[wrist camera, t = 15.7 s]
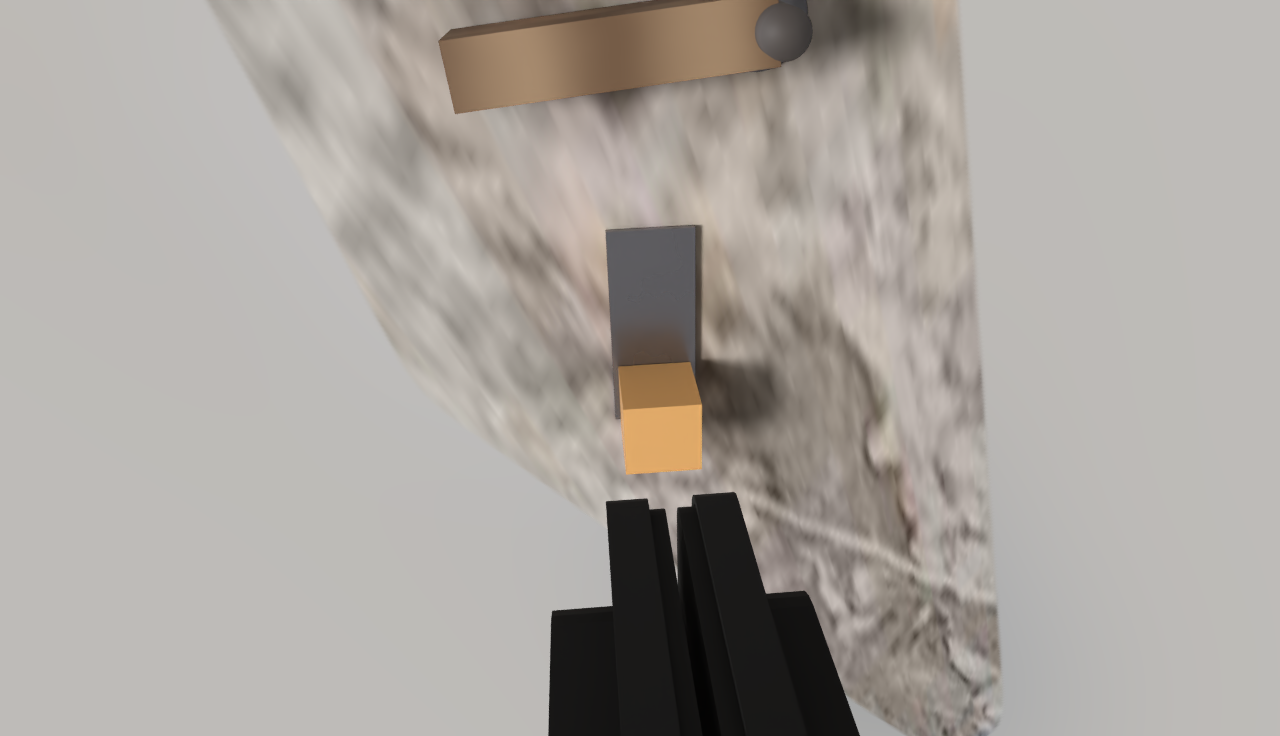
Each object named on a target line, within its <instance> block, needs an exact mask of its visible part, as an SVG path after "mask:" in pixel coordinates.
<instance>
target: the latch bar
mask: <svg viewBox="0 0 1280 736" xmlns="http://www.w3.org/2000/svg"><path fill="white" fill-rule="evenodd" d="M812 32H813V30H812V23H811V20H810V18H809V16H808V15H807V14H806V13H805V12H804V11H803V10H802V9H800V8H798V7H795V6H793V5H790V4H788V3H785V2H782V1H780V0H652V1H645V2H638V3H631V4H625V5H618V6H611V7H604V8H597V9H590V10H583V11H576V12H569V13H562V14H555V15H548V16H541V17H534V18H527V19H520V20H513V21H506V22H499V23H492V24H485V25H479V26H472V27H465V28H458V29H451V30H450V31H449V32H448V33H447V34H446V35H444V36H443V37H442V38H441V39H440V40H439V41H438V42H439V46H440V50H441V55H442V59H443V63H444V68H445V72H446V77H447V81H448V85H449V90H450V94H451V98H452V103H453V107H454V111H455V114H458V113H465V112H472V111H479V110H486V109H493V108H500V107H507V106H514V105H521V104H528V103H534V102H541V101H548V100H555V99H562V98H569V97H576V96H583V95H590V94H597V93H604V92H611V91H617V90H624V89H631V88H638V87H645V86H652V85H659V84H666V83H673V82H680V81H687V80H694V79H700V78H707V77H714V76H721V75H728V74H735V73H742V72H749V71H756V70H763V69H770V68H776V67H781V61H783V62H786V61H791V60H794V59H796V58H798V57H799V56H801V55H802V54H803V53H804V52H805V51H806V49H807V48H808V46H809V44H810V42H811V39H812Z"/></svg>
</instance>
